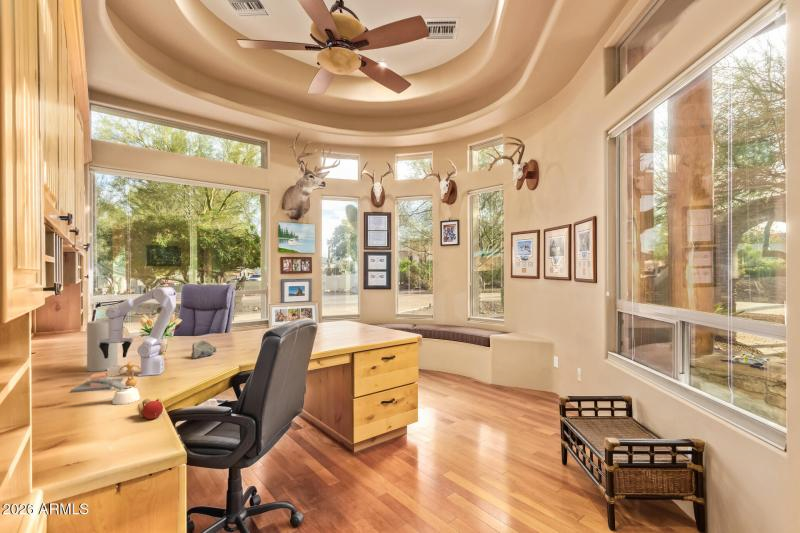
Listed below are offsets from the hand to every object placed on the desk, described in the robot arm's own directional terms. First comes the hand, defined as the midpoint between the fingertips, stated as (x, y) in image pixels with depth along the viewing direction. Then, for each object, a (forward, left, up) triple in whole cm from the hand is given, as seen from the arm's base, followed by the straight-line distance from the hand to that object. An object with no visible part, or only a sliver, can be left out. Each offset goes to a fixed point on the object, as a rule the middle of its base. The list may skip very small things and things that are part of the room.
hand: (115, 357), depth 185 cm
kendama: (-34, +64, -9) cm, 73 cm away
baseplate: (-1, +20, -8) cm, 22 cm away
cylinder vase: (+11, -14, -8) cm, 20 cm away
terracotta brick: (-1, +20, -7) cm, 21 cm away
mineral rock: (-34, -28, -9) cm, 45 cm away
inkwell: (-17, +47, -9) cm, 50 cm away
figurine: (-16, +28, -8) cm, 33 cm away
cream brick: (0, 0, -8) cm, 8 cm away
